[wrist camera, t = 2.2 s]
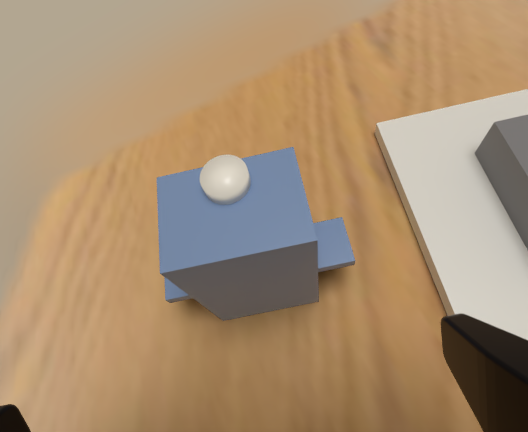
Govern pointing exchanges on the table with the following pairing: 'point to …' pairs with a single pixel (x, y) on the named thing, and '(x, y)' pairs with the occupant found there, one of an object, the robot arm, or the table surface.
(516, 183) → the plate
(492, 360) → the robot arm
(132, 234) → the table surface
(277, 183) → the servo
